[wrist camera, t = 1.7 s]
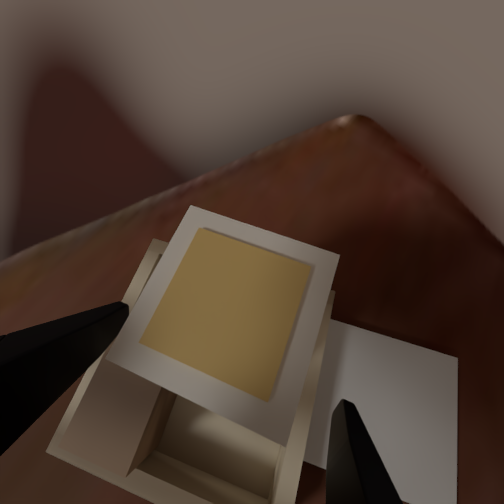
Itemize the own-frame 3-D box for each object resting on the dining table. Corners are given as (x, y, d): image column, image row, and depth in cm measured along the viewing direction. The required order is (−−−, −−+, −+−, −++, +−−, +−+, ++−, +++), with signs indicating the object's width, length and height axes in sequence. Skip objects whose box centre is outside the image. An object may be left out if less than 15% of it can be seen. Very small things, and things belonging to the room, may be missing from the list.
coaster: (448, 514, 14) (456, 522, 13) (300, 455, 15) (301, 460, 15) (451, 357, 17) (457, 358, 16) (327, 319, 18) (329, 318, 18)
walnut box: (157, 448, 15) (123, 482, 12) (104, 425, 16) (56, 450, 12) (198, 336, 18) (181, 334, 14) (151, 320, 18) (123, 314, 15)
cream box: (270, 377, 17) (286, 450, 5) (206, 348, 17) (101, 358, 6) (292, 307, 18) (343, 248, 7) (233, 284, 19) (191, 199, 8)
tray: (278, 521, 14) (283, 564, 11) (82, 433, 16) (45, 451, 13) (324, 298, 19) (335, 291, 16) (167, 252, 21) (153, 238, 18)
